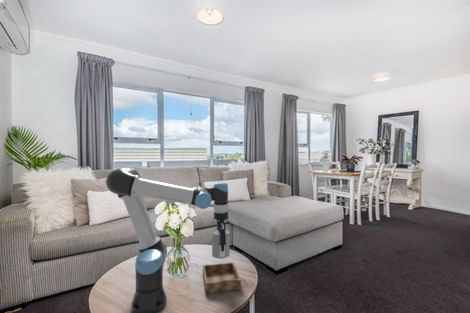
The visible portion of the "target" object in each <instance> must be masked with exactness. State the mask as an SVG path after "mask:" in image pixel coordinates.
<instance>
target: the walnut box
mask: <svg viewBox="0 0 470 313" xmlns="http://www.w3.org/2000/svg"><path fill="white" fill-rule="evenodd" d="M202 279H203V285H204V293H205V295H212V294H213V295H214V294H220V293H229V292H238V291H239V292H240V291H242V287H241V286H242V279H241V276H240V274H239V273H238V269H237V267H236V265H235V262H233V261H232V262H223V263H213V264H202Z"/></svg>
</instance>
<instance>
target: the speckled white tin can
mask: <svg viewBox="0 0 470 313" xmlns="http://www.w3.org/2000/svg"><path fill="white" fill-rule="evenodd" d="M230 233H231V231H230V230H228V229H226V228H225V236H226V245H225V257H220V245H219V244H220V233H219V231H218V229H217V228H216V229H214V230H212V232H211V234H212V235H211V236H212V237H211V239H212V240H211V242H212V244H211V247H212V248H211V250H212V252H211V256H212V257H213V258H215V259H220V260H221V259H227V258H228V257H230V255H231V254H230V253H231V252H230V250H231V249H230V242H231V238H230V236H231V235H230Z"/></svg>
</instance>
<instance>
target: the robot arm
mask: <svg viewBox="0 0 470 313" xmlns="http://www.w3.org/2000/svg"><path fill="white" fill-rule="evenodd" d="M105 184H106V188H107V190H109V191H110V192H111V193H113V194H116V195H117V197H118V199H121V200H122V201H123V204H124V206H125V208H126V211H127V214H128V216H129V219H130V222H131V225H132V226H133V227H132V228H133V229H134V230H133V231H134V232H135V235H136V238H137V241H138V242H139V245H138V247H137V250H138V253H139V254H137V256H136V259H135V263H134V264H135V265H134V266H135V292H134V295H133V298H132V301H131V312H132V313H159V312H160V311H162V310H163V309H164V308H165V307H166V305H167V294H166V291H165V289H164V286H163V285H164V284H163V280H164V279H163V271H164V265H165V262H166V259H167V257H168V256H167V255H168V250H167V245H166V244H165V243H164V242H163V241H162V238H161V237H160V236H159V235H157V234H156V230H155V228H154V225H153V222H152V220H151V217H150V215H149V212H148V209H147V207H146V205H145V201H144V199H143V197H144V198H152V199H157V200H162V201H167V202H174V203H180V204H184V205H191V206H195V207H197V208H199V209H201V210H205V209H207V208H209V207H210V206H211V205H212V202H213V211H214V212H213V219H214V220H216V230H217V229H218V231H219V233H220V244H219V245H220V257H225V245H226V236H225V229H226V222H225V221H226V220H228V218H229V212H228V210H229V208H228V207H230V205H229V187H228V186H229V185H228V183H227V182H222V181H220V182H215V183H214V184H213V186H195V187H192V188H190V187H184V186H180V185H174V184H171V183H170V184H169V183H165V182H160V181H154V180H149V179H144V178H141V175H140V173H139V171H138V170H137V169H135V168H132V167H130V166H127V167H121V168H118V169H114V170H112V171H111V172H110V173H109V174H108V175H107V177H106V180H105Z"/></svg>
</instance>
